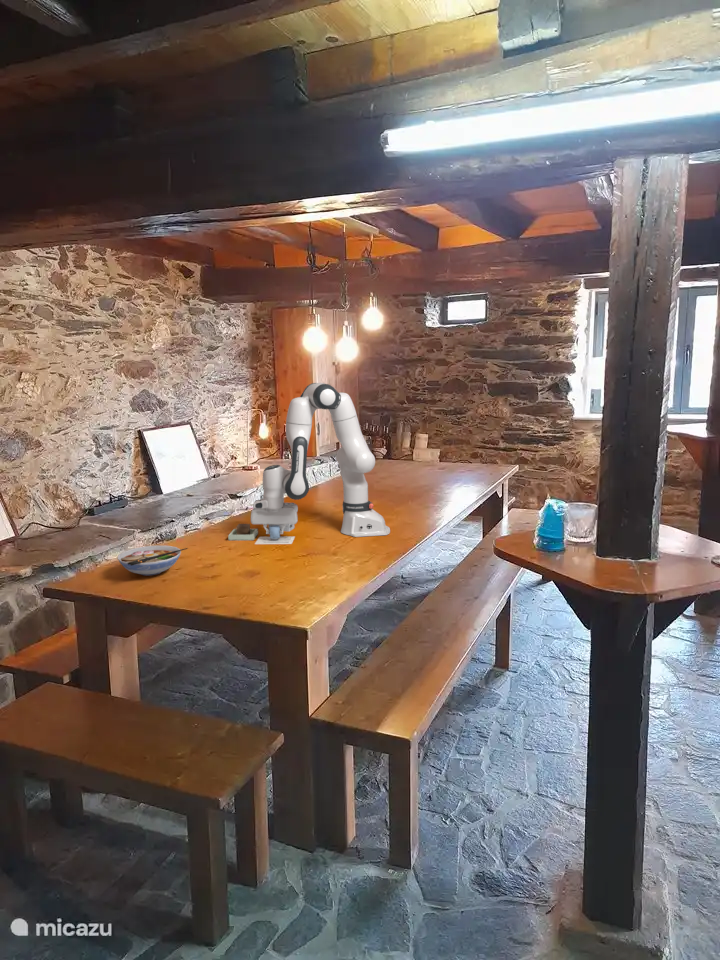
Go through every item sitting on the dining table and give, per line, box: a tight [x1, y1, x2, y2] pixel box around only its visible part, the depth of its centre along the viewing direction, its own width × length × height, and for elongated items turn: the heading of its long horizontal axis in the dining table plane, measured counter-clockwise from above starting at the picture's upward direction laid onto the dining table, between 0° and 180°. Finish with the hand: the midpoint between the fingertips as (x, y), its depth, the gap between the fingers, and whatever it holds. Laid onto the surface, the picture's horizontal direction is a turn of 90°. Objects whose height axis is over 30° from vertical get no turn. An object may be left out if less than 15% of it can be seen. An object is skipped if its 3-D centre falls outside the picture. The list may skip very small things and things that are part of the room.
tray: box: [228, 528, 259, 542], centre depth 294 cm, size 11×11×2 cm
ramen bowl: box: [117, 544, 189, 577], centre depth 246 cm, size 25×23×8 cm
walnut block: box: [235, 523, 251, 535], centre depth 293 cm, size 5×5×5 cm
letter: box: [254, 535, 296, 545], centre depth 288 cm, size 16×12×1 cm
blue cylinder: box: [269, 525, 281, 539], centre depth 287 cm, size 4×4×5 cm
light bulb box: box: [267, 524, 296, 532], centre depth 306 cm, size 11×7×11 cm, turn 74°
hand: (274, 533), depth 287 cm, fingers closed on blue cylinder, 4 cm apart
